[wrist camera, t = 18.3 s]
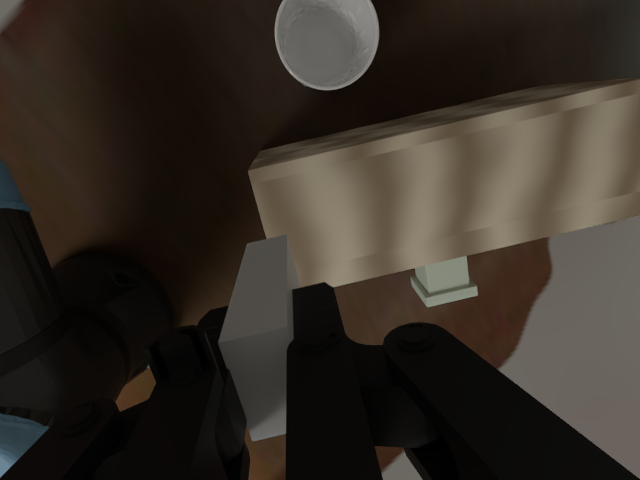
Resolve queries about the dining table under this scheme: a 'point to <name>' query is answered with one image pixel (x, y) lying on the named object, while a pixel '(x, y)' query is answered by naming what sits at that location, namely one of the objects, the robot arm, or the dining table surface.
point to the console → (453, 180)
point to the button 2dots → (443, 282)
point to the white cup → (326, 40)
